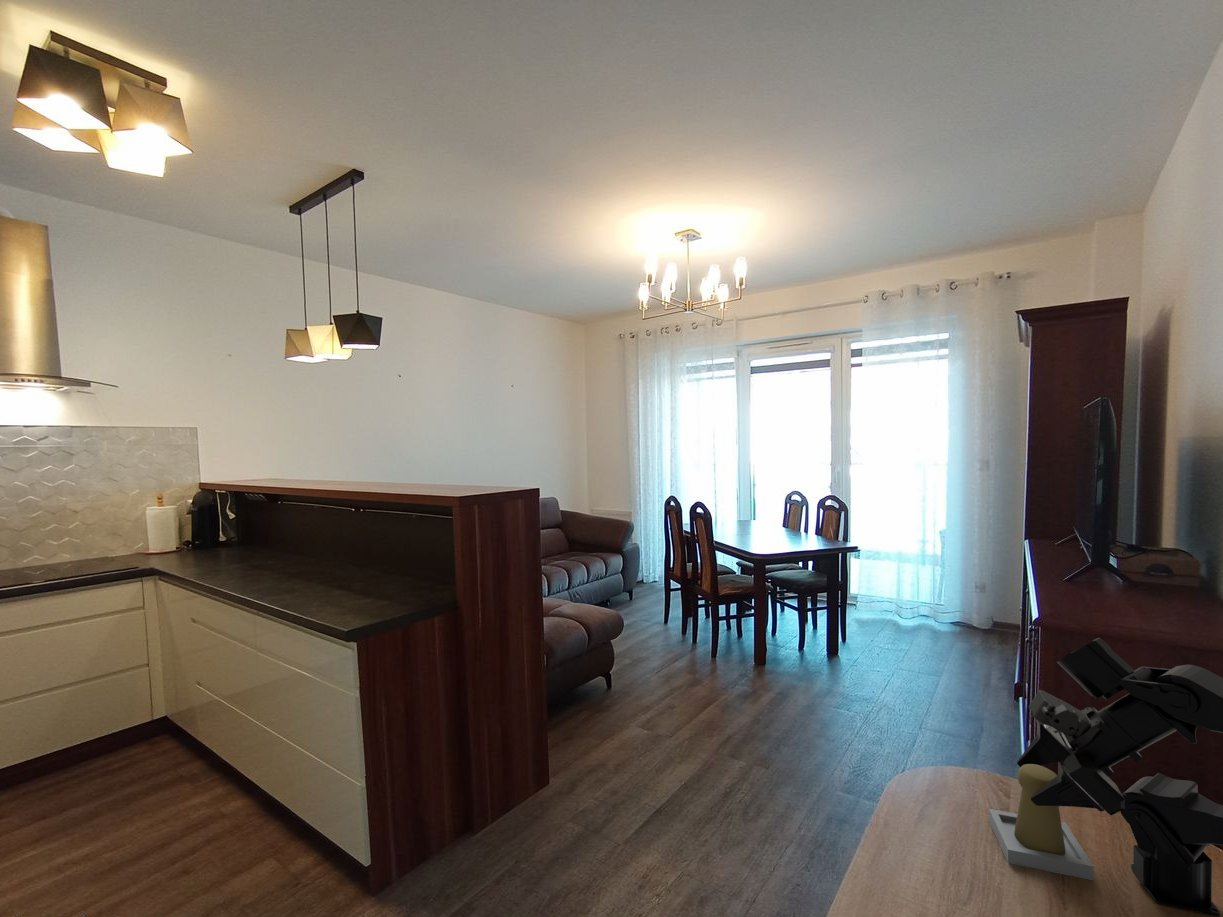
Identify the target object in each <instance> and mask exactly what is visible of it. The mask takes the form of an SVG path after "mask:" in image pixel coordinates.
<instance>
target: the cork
mask: <svg viewBox="0 0 1223 917" xmlns="http://www.w3.org/2000/svg"><path fill="white" fill-rule="evenodd" d="M1057 775H1058V774H1057V773H1056V772H1054V771H1053V770H1052V769H1049V768H1047V767H1045V766H1044V765H1042V766H1040V765H1036V764H1025V765H1023V766H1021V767H1020V766H1019V768H1018V771H1017V781H1018V783H1019V785H1020V786H1021V792H1020V799H1019V803H1018V810H1017V813H1016V814H1017V820H1016V825H1015V831H1014V835H1015V837H1016V839H1017V840H1018V841H1019V842H1020V843H1021V844H1022V845H1023V846H1025V847H1026V848H1028V849H1031V850H1036V851H1041V852H1046V853H1051V854H1056V855H1062V856H1063V855H1064V854H1065V844H1064V838H1063V832H1062V825H1061V822H1062V820H1061V814H1060V806H1037V805H1035V804H1034V803H1033V802H1032V801H1031V799H1030V797H1031V796H1032V795H1033V794H1034V793H1036V792H1037V791H1038V790H1039V789H1041V788H1042V787H1043V786H1045V785H1046V784H1047V783H1048V782H1050V781H1051V780H1052V779H1054V778H1055V777H1056V776H1057Z"/></svg>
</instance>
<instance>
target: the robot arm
mask: <svg viewBox="0 0 1223 917" xmlns="http://www.w3.org/2000/svg"><path fill="white" fill-rule="evenodd" d="M1056 663H1057V664H1058V665H1059V666H1060V667H1061V668H1062V669H1063V670H1064V671H1065V672H1066V673H1067V674H1068V675H1069V676H1070V677H1071V678H1073V679H1074V681H1075V682H1077V684H1079V685H1080V686H1081V688H1083V690H1084V691H1086V693H1088V694H1089V695H1090V696H1091V697H1094V698H1095V699H1098V698H1100V697H1102V698H1103V699H1104V700H1108V699H1109V698H1111V697H1113V696H1115V695H1116V694H1118V693H1119V692H1121V691H1124V690H1125V691H1126V692H1127V693H1128V694H1125V695H1124V696H1122V697H1120V698H1119V699H1117V700H1115V701H1114V702H1112V703H1111V704H1108V705H1107V706H1105V707H1103V708H1102V709H1100V710H1097V709H1096V708H1095V707H1094V706H1092V707H1090V706H1087V707H1085V708H1084V709H1082V710H1080V709H1078V708H1076V707H1074V706H1073V705H1072V704H1070V703H1068V702H1066V701H1064V700H1063V699H1060V698H1058V697H1056V696H1054V695H1052V694H1050V693H1049V692H1047V691H1045V690H1042V689H1039V690H1038V691H1037V692H1036V694H1035V696H1034V697H1033V699H1032V700H1031V702H1030V704H1029V705H1028V708H1029V710H1031V712H1032V717H1033V718H1034V719H1035V720H1036V728H1037V731H1036V732H1037V734H1036V736H1035V737H1034V739H1033V740H1032V741H1031V743H1030V744H1029V745H1028V747H1026V749H1025V750H1024V752H1023V753H1022V755H1021V756H1020V757H1018V758H1019V759H1017V761H1016V764H1017V766H1018V767H1019V768H1020V767H1021V766H1023V765H1025V764H1036V765H1040V766H1046V765H1050V764H1054V763H1057V774H1056V775H1057V776H1056V777H1055V778H1054V779H1052V780H1051V781H1050V782H1048V783H1047V784H1046V785H1045V786H1043V787H1042V788H1041V789H1039V790H1038V791H1037V792H1036V793H1034V794H1033V795H1032V796H1031V797H1030V799H1031V801H1032V802H1033V803H1034V804H1035V805H1037V806H1059V807H1070V808H1071V807H1073V808H1074V807H1075V808H1087V809H1095V810H1098V811H1099V812H1100V813H1101V812H1104V811H1105V812H1106V814H1108V815H1110V816H1113V815H1115V814H1117V813H1119V812H1120V814H1121V816H1122V817H1123V818H1124V820H1125V821H1126V823H1128V825H1129V828H1130V829H1131V832H1132V834H1133V836H1134V839H1135V842H1136V844H1134V845H1133V849H1132V850H1133V851H1132V852H1133V854H1132V855H1133V856H1132V857H1133V862H1132V863H1133V864H1132V863H1131V864H1130V869H1131V870H1132V872H1133V874H1134V875H1135V877H1136V878H1137V879H1138V881H1139V882H1140V884H1141V885H1142V886H1143V887H1144V889H1145V890H1146V891H1147V892H1148V894H1149V896H1151V898H1152V899H1153V900H1154V902H1156V903H1157V904H1159V905H1162V906H1167V907H1171V908H1176V909H1181V910H1186V911H1191V912H1194V913H1199V914H1204V915H1210V916H1214V917H1221V911H1220V909H1219V908H1218V907H1217V906H1216V904H1215V903H1214V902H1213V901H1212V900H1213V899H1212V896H1213V894H1212V892H1213V891H1212V890H1213V860H1212V859H1211V858H1210V857H1209V855H1207V853H1205V852H1204V851H1205V850H1206V849H1207V848H1208V847H1209V846H1210V845H1217V846H1223V805H1222V804H1220V803H1218V802H1215V801H1213V800H1211V799H1209V798H1207V797H1206V796H1204V795H1202V794H1201V793H1199V791H1198V790H1199V789H1198V783H1197V782H1195V781H1193V780H1183V779H1177V778H1172V777H1170V776H1167V775H1165V774H1162V773H1161V772H1157V773H1156V774H1155V775H1154V776H1150V775H1149V776H1144V777H1141V778H1140V779H1139V780H1137V781H1136V782H1135V783H1133V784H1132V785H1131V786H1130V787H1129V788H1127V790H1126V791H1124V792H1123V793H1122V792H1121V790H1120V789H1119V786H1117V784H1116V783H1115V782H1114V781H1113V780H1112V779H1111V778H1110V776H1113V775H1115V772H1114V771H1113V769H1112V767H1113V766H1114V765H1116V764H1118V763H1120V762H1121V761H1124V760H1125V759H1127V758H1129V757H1130V758H1131V759H1132V760H1133V761H1134V762H1135V763H1137V762H1139V761H1141V760H1142V759H1143V756H1142V755H1141V754H1140V752H1141V751H1143V750H1144V749H1145V748H1147V747H1149V746H1151V745H1152V744H1155V743H1157V742H1158V741H1160V740H1162V739H1164V738H1166V737H1168V736H1169V735H1171V734H1174V733H1175V732H1178V733H1179V734H1180V735H1181V736H1182V737H1183V738H1184V739H1186V741H1188V742H1189V743H1190V744H1192V745H1193V744H1194V745H1196V744H1197V742H1198V740H1197V736H1196V731H1197V728H1198V727H1200V728H1203V729H1205V730H1208V731H1211V732H1216V733H1220V734H1223V677H1221V676H1220V675H1217V674H1216V673H1214V672H1212V671H1210V670H1208V669H1207V668H1204V667H1202V666H1197V665H1195V664H1182V665H1177V666H1174V667H1173V668H1162V667H1160V668H1159V667H1151V666H1140V667H1138V668H1137V669H1133V667H1132V666H1131V665H1129V664H1128V663H1127V662H1126V661H1125V660H1124V659H1123V658H1121V657H1120V655H1118V654H1117V653H1116V652H1115V651H1114V650H1113V649H1112V648H1111V647H1110V646H1109V644H1108V643H1107V642H1106V641H1105V640H1103V639H1102V638H1101V637H1098V638H1097V637H1096V638H1095V639H1093V640H1091V641H1090V642H1088V643H1087V644H1085V645H1084V646H1081V647H1079V648H1077V649H1075V650H1072V651H1070V652H1069V653H1068V654H1066V655H1064V656H1062V657H1061V658H1060V659H1059V660H1058V661H1056Z"/></svg>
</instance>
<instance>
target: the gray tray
mask: <svg viewBox="0 0 1223 917" xmlns="http://www.w3.org/2000/svg"><path fill="white" fill-rule="evenodd" d="M1017 814H1018V813H1015V812H1009V811H1005V810H999V809H998V810H997V809H994V808H993V809H992V808H988V822H989V824H990V826H991V829H992V831H993V833H994V835H995V837H996V839H997V842H998V844H999V846H1000V848H1001V851H1002V853H1003V855H1004V858H1005V860H1006V861H1007V863H1008V864H1010V865H1011V864H1013V865H1016V866H1022V867H1026V868H1031V869H1036V870H1042V871H1046V872H1051V873H1055V874H1059V875H1066V876H1070V877H1076V878H1080V879H1084V880H1089V881H1090V880H1091V881H1094V880H1095V879H1094V878H1095V871H1094V870H1095V865H1093V863H1092V862H1091V859H1089V857H1088V855H1087V854H1086V852H1085V850H1084V849H1083V847H1082V846H1081V845H1080V843H1079V841H1078V840H1077V838H1076V836H1075V835H1074V834H1073V831H1071V829H1070V827H1069V826H1068V825H1067V823H1066V822H1065V821H1061V825H1062V832H1063V838H1064V844H1065V854H1064V855H1063V856H1062V855H1056V854H1051V853H1046V852H1041V851H1036V850H1031V849H1028V848H1026V847H1025V846H1023V845H1022V844H1021V843H1020V842H1019V841H1018V840H1017V839H1016V837H1015V835H1014V831H1015V825H1016V820H1017Z"/></svg>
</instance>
